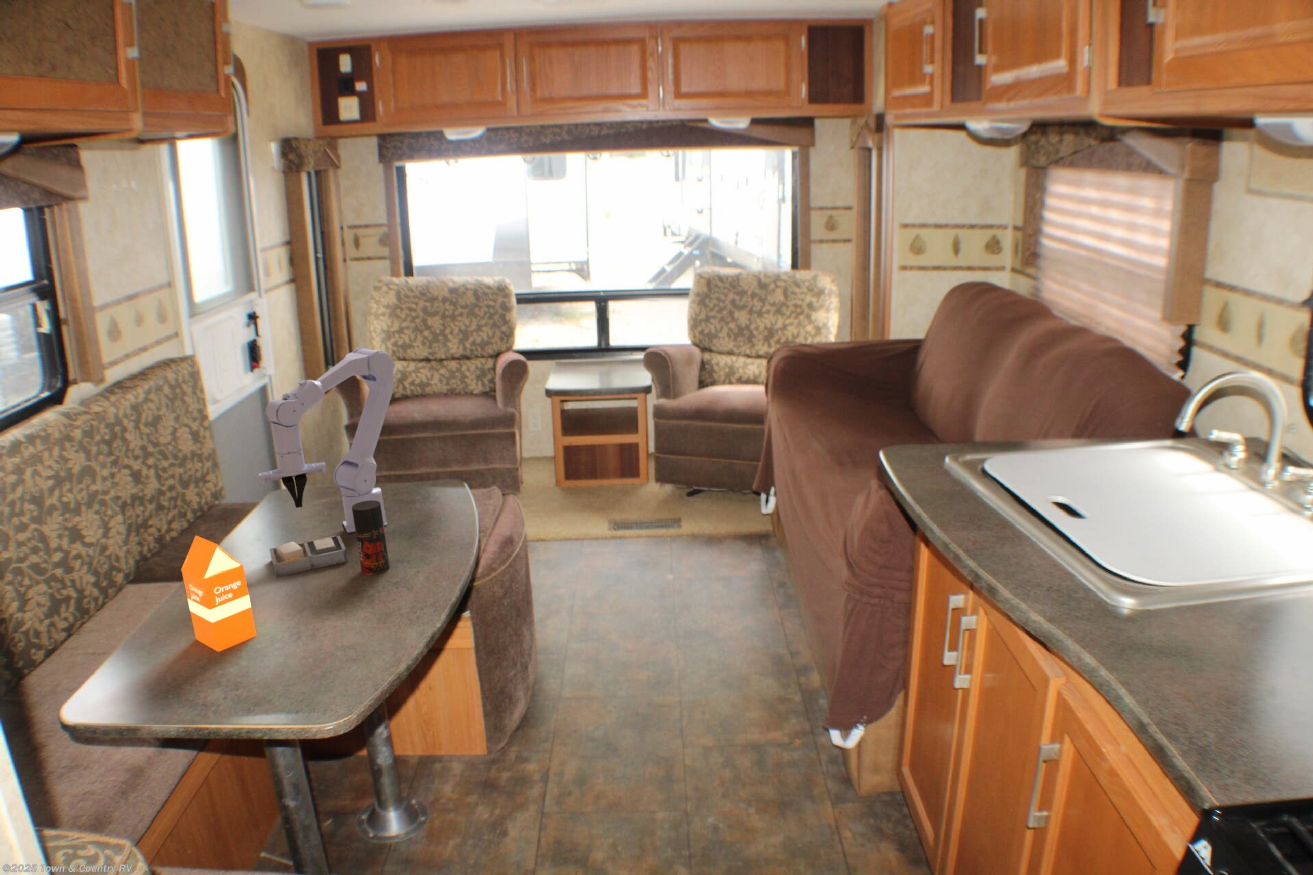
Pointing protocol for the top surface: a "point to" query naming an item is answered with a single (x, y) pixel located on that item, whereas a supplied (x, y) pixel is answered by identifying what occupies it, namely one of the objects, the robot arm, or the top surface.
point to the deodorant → (370, 537)
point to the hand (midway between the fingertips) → (298, 506)
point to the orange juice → (217, 596)
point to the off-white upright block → (289, 551)
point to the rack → (312, 556)
